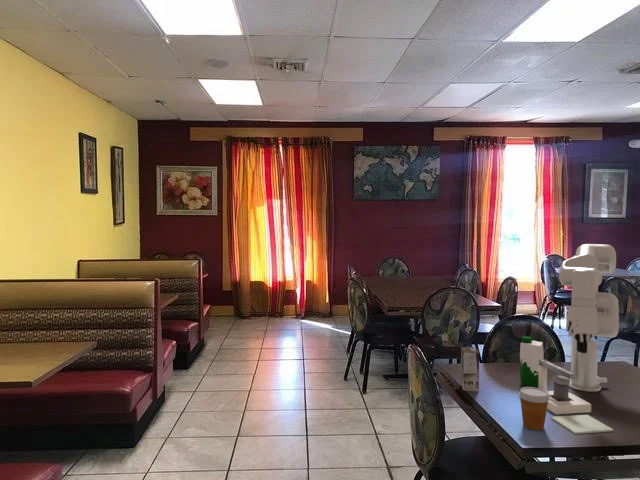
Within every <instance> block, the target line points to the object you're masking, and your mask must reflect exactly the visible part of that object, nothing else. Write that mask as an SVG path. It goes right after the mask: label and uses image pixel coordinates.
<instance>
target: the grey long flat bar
mask: <svg viewBox="0 0 640 480" xmlns="http://www.w3.org/2000/svg"><path fill="white" fill-rule="evenodd" d="M539 365H542V366H544V367H547V369H549V370H551V371H553V372H555V373H556V374H559V375H560V376H564V377H567V378H569V379H575V374H574V373H572V372H571V370H567V369H565V368H563V367H560V366H559V365H556V364H554V363H552V362H550V361H548V359H539Z"/></svg>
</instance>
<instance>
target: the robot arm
mask: <svg viewBox="0 0 640 480" xmlns="http://www.w3.org/2000/svg"><path fill="white" fill-rule="evenodd" d="M616 268H617V252H616V250H615V247H614V246H612V245H611V244H608V243H607V244H603V243H601V244H599V243H585V244H584V243H583V244H581V245H579V246H578V247H577V249H576V251H575V255H572V257H570V258H568V259H566V260H564V261H563V262H562V264H561V265H560V269H559V273H558V274H559V275H558V278H559V282H560V284H561V285H563V286H565V287H571V305H569V306H568V308H567V309H568V310H567V314H566V323H565V331H567V332H568V333H567V334H568V335H567V336H568V337H571V350H570V351H571V352H570V357H571V359H570V360H571V361H570V372H572V373H574V374H575V379H570V384H569V388H571V389H574V390H577V391H582V392H591V393H592V392H593V393H595V392H600V391H602V386H601V385H600V384H601V383H607V382H608V378H607V377H600V376H598V353H599V352H598V348H599V347H598V345H597V343H596V341H595V340H594V339H593V337H601V338H616V337H617V336H618V334H619V330H620V319H619V318H620V317H619V313H620V311H619V307H620V306H619V300H618V299H619V298H617V296H616V295H615V294H614V293H610V292H601V291H599V286H600V285H601V284H602V282H603V275H611V274H614V273H615V270H616Z"/></svg>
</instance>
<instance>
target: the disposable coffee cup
mask: <svg viewBox="0 0 640 480" xmlns="http://www.w3.org/2000/svg"><path fill="white" fill-rule="evenodd" d="M519 389H520V390H519V392H518V395H519V397H520V407H521V416H522V417H521V418H522V425H523V427H524V428H526V429H528V430H531V431H539V432H540V431H542V430H544V429H545V422H546V416H547V410H548V409H547V405H548V401H549V399H550V397H549V395H548V392H547V391H548V390H547V391H545V390H543V389H539V388H536V387H530V386H525V387H524V386H523V387H521V388H519Z"/></svg>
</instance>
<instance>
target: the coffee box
mask: <svg viewBox="0 0 640 480" xmlns="http://www.w3.org/2000/svg"><path fill="white" fill-rule="evenodd" d="M460 350H461V351H460V356H461V358H460V359H461V360H460V370H461V371H460V385H461V388H462V391H467V392H480V390H479V389H480V388H479V385H480V382H479V381H480V352H479V350H478V348H477V347H475V346H461V348H460Z"/></svg>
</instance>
